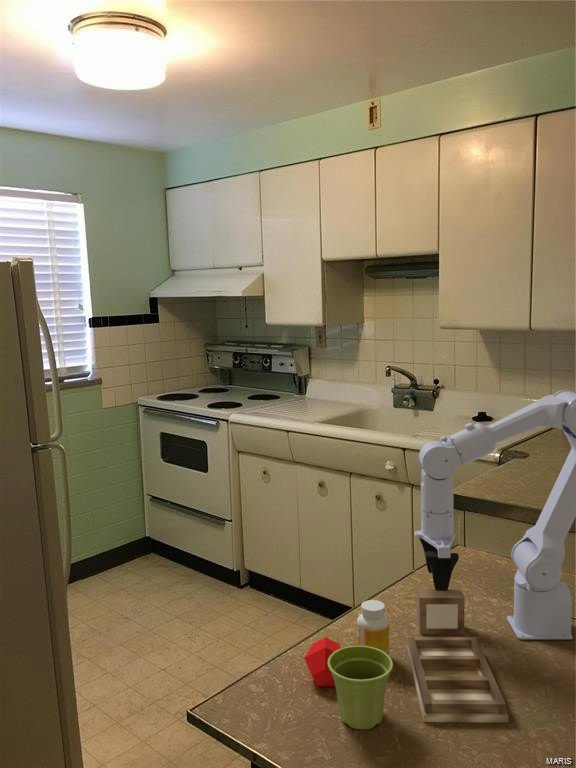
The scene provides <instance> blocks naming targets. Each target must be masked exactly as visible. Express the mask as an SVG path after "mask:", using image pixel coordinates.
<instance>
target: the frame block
mask: <svg viewBox="0 0 576 768" xmlns="http://www.w3.org/2000/svg"><path fill="white" fill-rule="evenodd" d="M465 600H466V599H465V596H464V594H463V592H462V589H461V588H460V589H459V588H457V589H451V588H450V589H449V588H448V590H447V591H436V590H435V589H416V626H417V630H418V634H419V633H420V634H419V635H465V603H466V602H465Z"/></svg>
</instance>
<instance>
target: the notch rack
mask: <svg viewBox="0 0 576 768" xmlns="http://www.w3.org/2000/svg"><path fill="white" fill-rule="evenodd" d="M407 639H408V641H407V643H406V653H407V656H408V661H409V664H410V668H411V673H412V678H413V683H414V685H415V690H416V694H417V698H418V704H419V708H420V711H421V716H422V720H423V722H424V723H494V724H497V723H498V724H499V723H500V724H501V723H506V724H507V723H509V715H508V712H507V710H506V709H507V704H506V701H505V700H504V697H503V694H502V693H501V690H500V688H499V686H498V683H497V681H496V679H495V677H494V674H493V672H492V670H491V668H490V666H489V664H488V662H487V659H486V657H485V654H484V652H483V650H482V647H481V646H480V644H479V642H478V638H477V637H476V636H469V637H468V636H409V637H408V638H407Z"/></svg>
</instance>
